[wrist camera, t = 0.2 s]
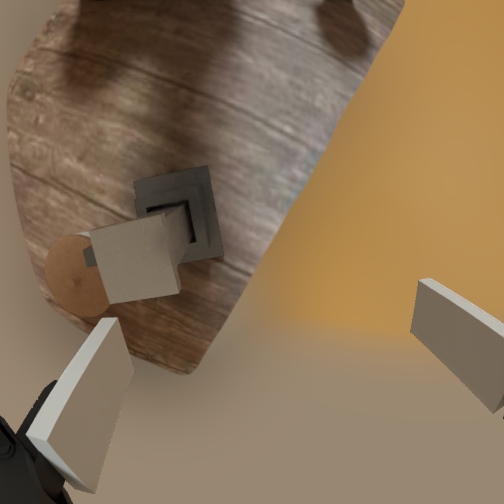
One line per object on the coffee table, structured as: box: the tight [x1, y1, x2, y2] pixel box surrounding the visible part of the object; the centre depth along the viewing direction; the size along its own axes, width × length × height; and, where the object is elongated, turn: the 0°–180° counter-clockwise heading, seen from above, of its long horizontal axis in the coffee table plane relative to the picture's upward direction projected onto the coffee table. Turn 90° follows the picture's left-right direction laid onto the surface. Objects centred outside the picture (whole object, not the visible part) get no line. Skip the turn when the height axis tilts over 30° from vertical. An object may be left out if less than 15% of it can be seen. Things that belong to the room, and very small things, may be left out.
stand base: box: [82, 165, 224, 268], centre depth 29 cm, size 12×11×16 cm
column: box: [89, 201, 195, 304], centre depth 26 cm, size 5×5×19 cm
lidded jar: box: [45, 232, 111, 317], centre depth 33 cm, size 11×11×9 cm
